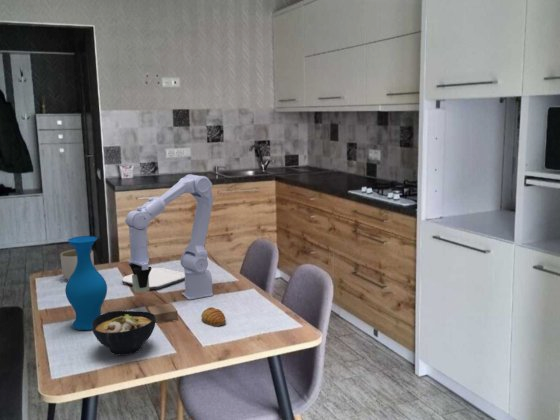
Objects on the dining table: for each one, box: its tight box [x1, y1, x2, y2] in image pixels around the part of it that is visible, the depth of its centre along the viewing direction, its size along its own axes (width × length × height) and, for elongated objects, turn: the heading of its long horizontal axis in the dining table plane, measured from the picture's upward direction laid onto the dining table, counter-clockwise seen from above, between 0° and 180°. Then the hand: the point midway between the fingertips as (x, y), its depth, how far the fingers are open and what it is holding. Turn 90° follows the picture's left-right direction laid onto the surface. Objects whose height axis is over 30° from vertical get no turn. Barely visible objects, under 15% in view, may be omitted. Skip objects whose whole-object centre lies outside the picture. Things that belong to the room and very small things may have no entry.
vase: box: [64, 235, 108, 331], centre depth 170 cm, size 12×13×28 cm
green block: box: [132, 275, 150, 294], centre depth 184 cm, size 4×4×5 cm
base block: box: [147, 303, 179, 324], centre depth 177 cm, size 8×8×4 cm
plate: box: [121, 267, 185, 290], centre depth 217 cm, size 21×21×2 cm
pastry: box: [200, 306, 227, 327], centre depth 173 cm, size 9×7×4 cm
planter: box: [59, 248, 95, 281], centre depth 220 cm, size 12×12×11 cm
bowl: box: [92, 310, 156, 356], centre depth 153 cm, size 17×17×10 cm
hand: (141, 285), depth 184 cm, fingers closed on green block, 4 cm apart
